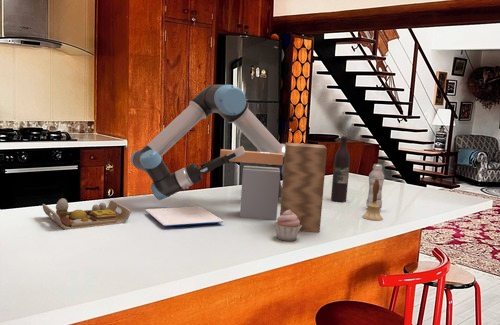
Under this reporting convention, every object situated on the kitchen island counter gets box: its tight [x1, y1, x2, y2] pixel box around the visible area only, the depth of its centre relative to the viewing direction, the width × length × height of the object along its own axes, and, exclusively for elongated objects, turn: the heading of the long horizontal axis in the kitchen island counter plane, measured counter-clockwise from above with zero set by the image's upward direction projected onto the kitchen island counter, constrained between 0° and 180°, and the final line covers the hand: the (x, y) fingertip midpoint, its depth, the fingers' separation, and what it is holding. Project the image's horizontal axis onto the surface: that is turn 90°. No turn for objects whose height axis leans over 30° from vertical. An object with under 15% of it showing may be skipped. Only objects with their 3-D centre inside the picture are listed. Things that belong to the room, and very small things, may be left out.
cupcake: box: [273, 210, 302, 242], centre depth 169 cm, size 9×9×10 cm
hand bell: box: [362, 179, 384, 222], centre depth 205 cm, size 8×8×16 cm
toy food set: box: [41, 197, 132, 231], centre depth 176 cm, size 25×18×8 cm
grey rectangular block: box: [239, 165, 281, 221], centre depth 197 cm, size 14×10×18 cm
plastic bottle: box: [365, 163, 385, 210], centre depth 221 cm, size 6×7×20 cm
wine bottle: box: [330, 135, 351, 203], centre depth 234 cm, size 7×7×30 cm
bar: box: [219, 148, 283, 165], centre depth 195 cm, size 24×4×4 cm, turn 88°
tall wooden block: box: [279, 142, 328, 233], centre depth 183 cm, size 14×10×30 cm
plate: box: [145, 206, 225, 227], centre depth 185 cm, size 22×22×2 cm
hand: (243, 149), depth 195 cm, fingers closed on bar, 4 cm apart
